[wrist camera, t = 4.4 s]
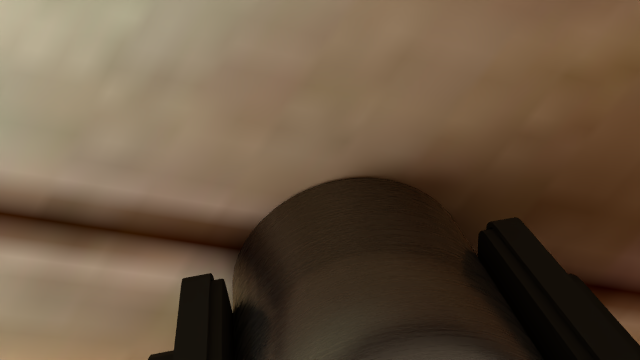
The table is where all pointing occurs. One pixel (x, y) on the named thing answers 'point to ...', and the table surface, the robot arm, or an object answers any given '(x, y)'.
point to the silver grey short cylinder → (368, 282)
